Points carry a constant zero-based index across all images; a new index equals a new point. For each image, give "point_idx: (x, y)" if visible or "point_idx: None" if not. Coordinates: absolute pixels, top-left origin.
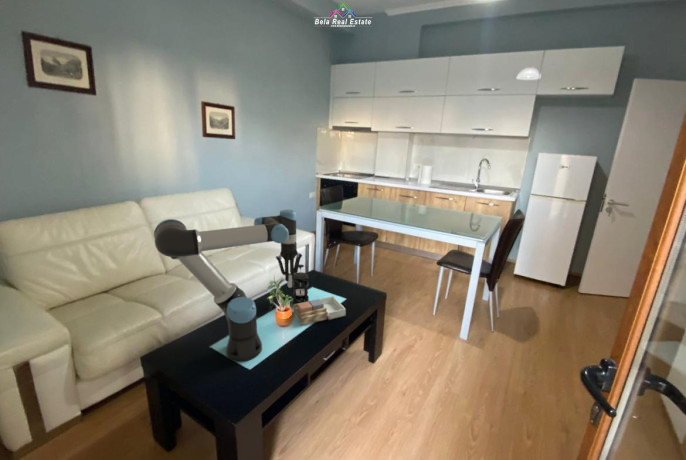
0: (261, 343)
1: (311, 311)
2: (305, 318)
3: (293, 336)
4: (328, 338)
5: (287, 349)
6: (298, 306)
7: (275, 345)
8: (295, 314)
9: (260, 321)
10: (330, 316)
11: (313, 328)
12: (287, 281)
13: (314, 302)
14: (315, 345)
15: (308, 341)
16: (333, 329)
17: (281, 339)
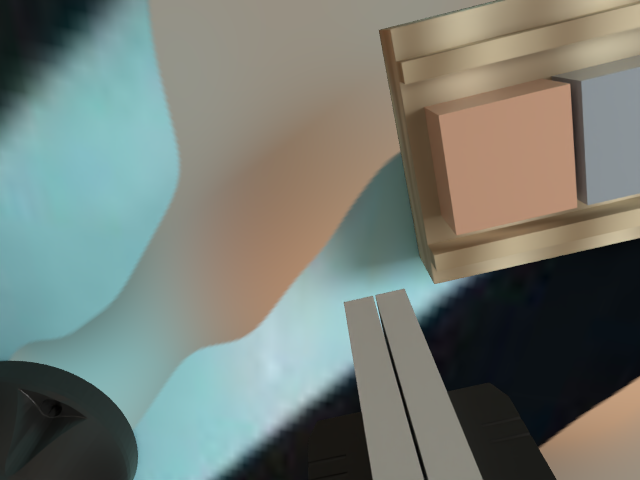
0: (125, 472)
1: (541, 241)
2: (461, 273)
3: (337, 369)
4: (552, 420)
5: (290, 472)
6: (438, 143)
7: (218, 432)
8: (390, 91)
9: (76, 138)
10: None
11: (491, 307)
12: (355, 364)
13: (629, 126)
14: None
15: None
16: (621, 340)
17: (256, 386)
